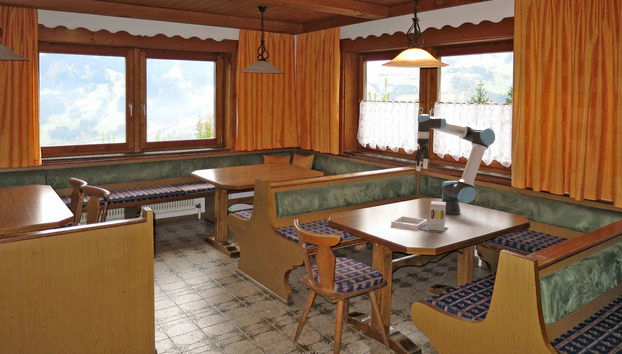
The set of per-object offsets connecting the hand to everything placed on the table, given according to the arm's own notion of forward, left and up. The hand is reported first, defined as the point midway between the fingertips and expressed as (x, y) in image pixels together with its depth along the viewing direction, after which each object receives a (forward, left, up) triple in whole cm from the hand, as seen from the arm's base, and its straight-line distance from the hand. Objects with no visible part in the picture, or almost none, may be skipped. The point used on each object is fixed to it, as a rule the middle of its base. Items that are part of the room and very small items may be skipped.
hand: (421, 169), depth 356 cm
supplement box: (+17, +18, -34) cm, 42 cm away
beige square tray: (+16, -1, -35) cm, 38 cm away
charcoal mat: (+17, +16, -35) cm, 42 cm away
